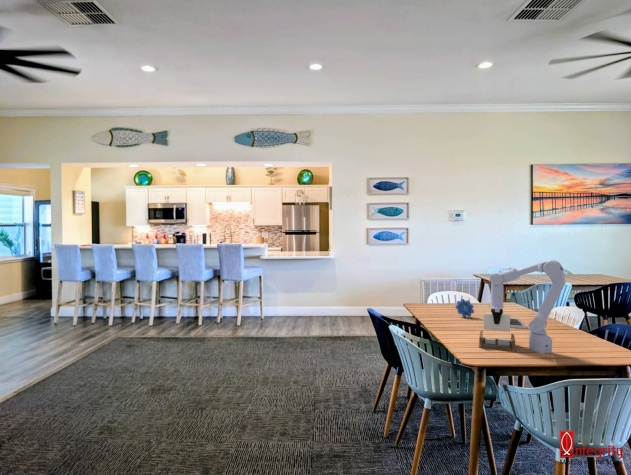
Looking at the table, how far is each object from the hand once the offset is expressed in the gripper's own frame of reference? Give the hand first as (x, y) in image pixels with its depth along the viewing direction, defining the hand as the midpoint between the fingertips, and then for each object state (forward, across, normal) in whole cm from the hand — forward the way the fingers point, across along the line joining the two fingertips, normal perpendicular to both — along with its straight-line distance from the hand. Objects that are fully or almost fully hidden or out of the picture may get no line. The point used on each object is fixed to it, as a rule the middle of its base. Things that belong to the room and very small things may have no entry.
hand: (496, 323), depth 202 cm
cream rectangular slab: (+3, 0, 0) cm, 3 cm away
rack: (+10, +1, 0) cm, 10 cm away
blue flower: (+11, -58, -18) cm, 62 cm away
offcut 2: (+10, +10, +3) cm, 14 cm away
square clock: (+11, -50, +8) cm, 52 cm away
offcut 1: (+10, +10, -3) cm, 14 cm away
